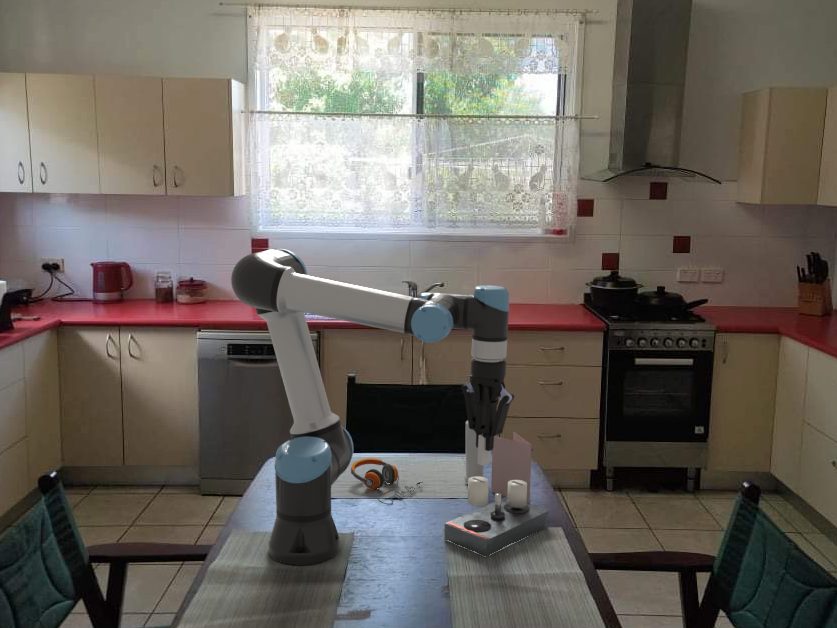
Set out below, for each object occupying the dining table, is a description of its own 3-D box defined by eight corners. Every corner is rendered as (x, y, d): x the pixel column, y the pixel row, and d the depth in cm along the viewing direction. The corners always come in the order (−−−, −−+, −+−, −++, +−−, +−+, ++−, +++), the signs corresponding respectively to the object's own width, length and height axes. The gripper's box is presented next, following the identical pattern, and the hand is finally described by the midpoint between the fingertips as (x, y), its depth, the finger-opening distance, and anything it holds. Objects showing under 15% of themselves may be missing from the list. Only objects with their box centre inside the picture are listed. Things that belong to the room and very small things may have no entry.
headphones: (390, 497, 197) (336, 460, 209) (386, 516, 199) (333, 478, 211) (436, 480, 209) (383, 446, 221) (432, 498, 211) (379, 463, 223)
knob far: (503, 503, 188) (503, 482, 187) (515, 498, 191) (515, 478, 190) (518, 509, 184) (519, 487, 184) (530, 504, 188) (530, 482, 187)
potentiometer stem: (487, 516, 183) (488, 494, 182) (496, 512, 185) (497, 490, 184) (498, 521, 181) (499, 498, 180) (507, 517, 183) (508, 494, 182)
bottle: (461, 480, 216) (463, 389, 212) (479, 478, 217) (481, 388, 213) (468, 487, 211) (470, 394, 207) (487, 485, 212) (489, 392, 208)
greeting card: (532, 502, 201) (534, 444, 199) (505, 505, 199) (506, 447, 197) (514, 486, 212) (516, 430, 210) (488, 488, 210) (489, 433, 208)
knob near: (463, 501, 177) (464, 479, 176) (476, 496, 180) (477, 474, 179) (479, 507, 174) (479, 485, 173) (492, 502, 177) (492, 479, 176)
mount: (444, 540, 180) (444, 522, 179) (506, 512, 195) (507, 495, 195) (486, 558, 172) (486, 539, 171) (547, 527, 187) (548, 510, 186)
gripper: (523, 361, 172) (518, 466, 176) (476, 350, 181) (471, 451, 185) (502, 366, 167) (497, 475, 171) (454, 355, 175) (450, 459, 179)
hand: (483, 463), depth 178 cm, fingers closed
